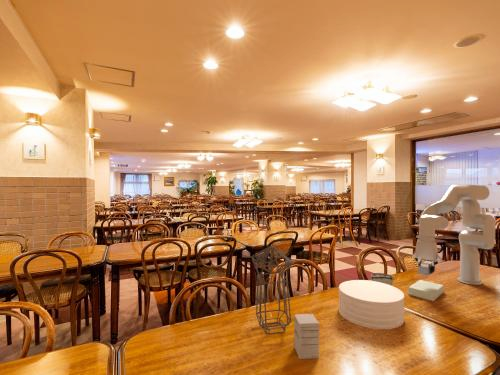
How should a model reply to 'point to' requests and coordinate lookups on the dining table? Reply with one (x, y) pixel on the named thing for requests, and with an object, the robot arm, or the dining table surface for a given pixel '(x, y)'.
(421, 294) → the stand
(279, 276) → the geometric lantern
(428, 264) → the cover
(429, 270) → the housing base
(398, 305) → the plate stack
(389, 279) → the food container
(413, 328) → the dining table surface
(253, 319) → the dining table surface
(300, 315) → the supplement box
